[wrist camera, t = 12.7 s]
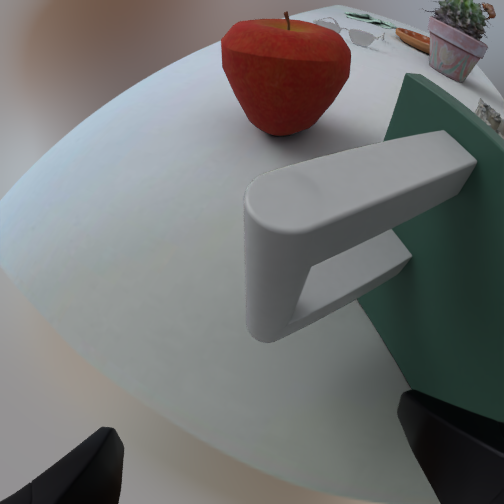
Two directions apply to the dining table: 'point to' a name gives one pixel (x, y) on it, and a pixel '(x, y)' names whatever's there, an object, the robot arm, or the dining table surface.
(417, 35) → the saucer
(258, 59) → the apple
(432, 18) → the potted plant
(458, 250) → the cooler door
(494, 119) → the egg carton
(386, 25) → the cloth
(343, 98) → the dining table surface
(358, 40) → the eyeglasses
